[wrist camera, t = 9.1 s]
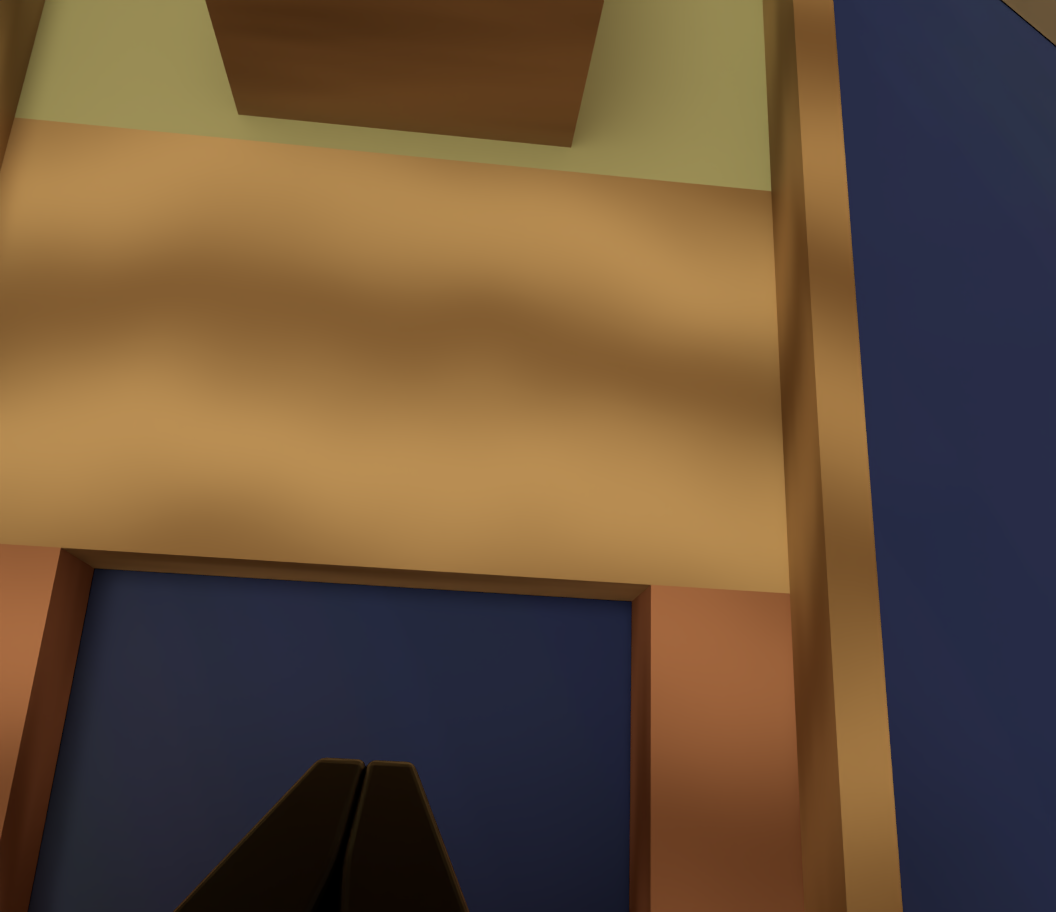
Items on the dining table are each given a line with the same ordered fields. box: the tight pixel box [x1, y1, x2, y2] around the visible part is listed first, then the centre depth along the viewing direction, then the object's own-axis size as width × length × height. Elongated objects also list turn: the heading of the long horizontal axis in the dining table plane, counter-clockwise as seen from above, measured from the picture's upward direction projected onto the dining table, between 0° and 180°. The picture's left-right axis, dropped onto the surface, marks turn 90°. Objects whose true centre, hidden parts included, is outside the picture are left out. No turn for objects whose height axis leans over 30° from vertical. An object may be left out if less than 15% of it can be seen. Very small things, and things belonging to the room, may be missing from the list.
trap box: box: [0, 0, 903, 912], centre depth 23 cm, size 51×20×4 cm, turn 177°
